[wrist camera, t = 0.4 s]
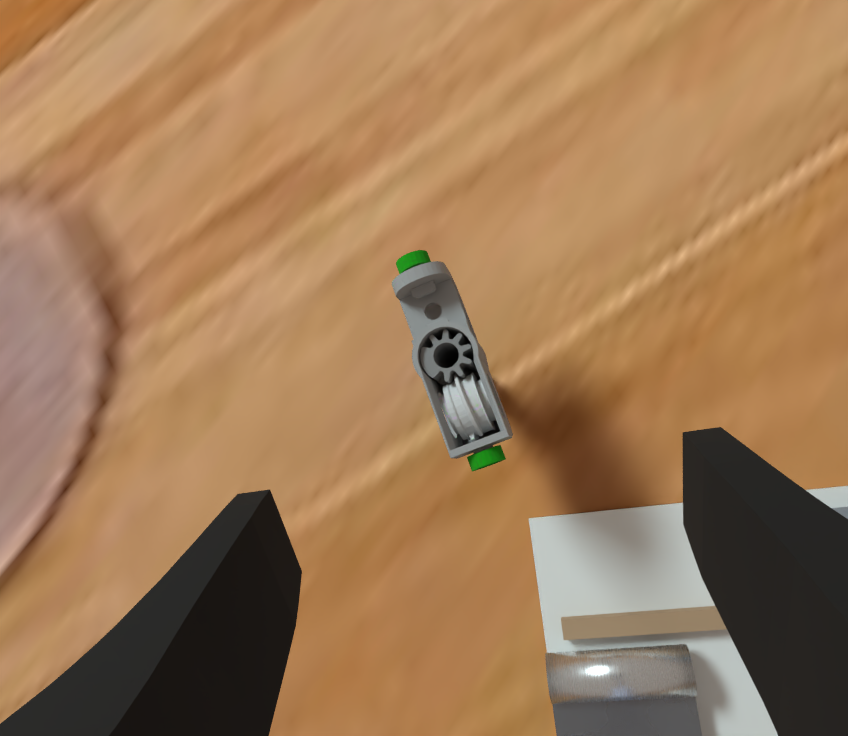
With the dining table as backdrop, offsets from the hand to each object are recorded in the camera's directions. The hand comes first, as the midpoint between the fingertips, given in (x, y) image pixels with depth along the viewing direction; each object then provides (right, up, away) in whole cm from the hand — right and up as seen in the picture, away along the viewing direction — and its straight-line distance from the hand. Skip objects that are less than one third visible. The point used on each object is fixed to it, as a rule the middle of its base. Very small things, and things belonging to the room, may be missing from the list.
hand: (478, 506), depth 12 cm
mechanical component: (+2, +2, +28) cm, 28 cm away
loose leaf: (+9, -16, +23) cm, 30 cm away
